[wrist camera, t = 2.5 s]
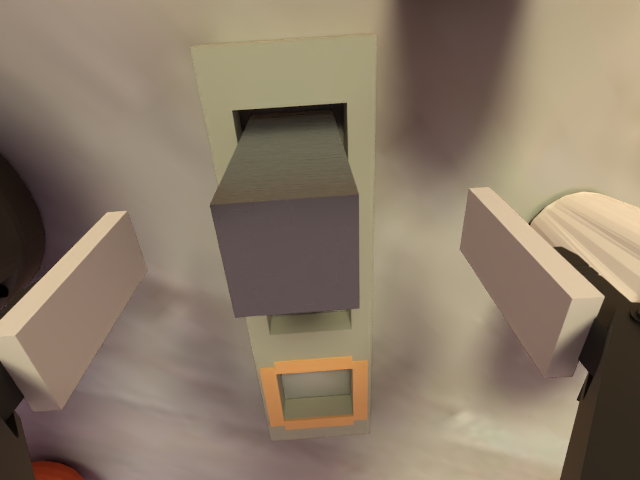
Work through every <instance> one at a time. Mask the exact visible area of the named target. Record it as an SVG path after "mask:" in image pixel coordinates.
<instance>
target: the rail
mask: <svg viewBox="0 0 640 480" xmlns="http://www.w3.org/2000/svg"><path fill="white" fill-rule="evenodd" d="M190 52H191V57H192V61H193V66H194V71H195V76H196V81H197V86H198V90H199V95H200V100H201V105H202V110H203V115H204V119H205V124H206V129H207V134H208V139H209V144H210V148H211V153H212V158H213V163H214V168H215V173H216V177H217V182H218V186H219V184H220V182H221V180H222V177H223V175H224V173H225V171H226V169H227V167H228V164H229V162H230V160H231V158H232V156H233V154H234V151H235V149H236V147H237V145H238V143H239V140H240V138H241V136H242V129H241V123H240V116H239V110H246V109H261V108H275V107H290V106H304V105H319V104H334V103H344V143H345V152H346V155H347V159H348V162H349V165H350V168H351V171H352V174H353V177H354V180H355V183H356V186H357V190H358V193H359V285H360V308H359V309H349V311H340V312H327V313H313V314H300V315H286V316H273V317H272V316H271V315H265V316H251V317H245V318H246V323H247V327H248V332H249V337H250V342H251V347H252V352H253V356H254V361H255V366H256V371H257V376H258V381H259V385H260V390H261V395H262V400H263V405H264V410H265V414H266V419H267V424H268V429H269V434H270V439H271V441H281V440H294V439H307V438H320V437H332V436H345V435H358V434H370V410H371V351H372V292H373V233H374V175H375V116H376V57H377V36H376V35H373V34H356V35H341V36H326V37H311V38H296V39H281V40H266V41H251V42H236V43H221V44H206V45H198V46H195V47H192V48H190ZM341 369H350V391H351V394H350V395H337V396H324V397H311V398H298V399H285V397H284V391H283V385H282V378H281V374H288V373H302V372H315V371H328V370H341Z"/></svg>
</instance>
